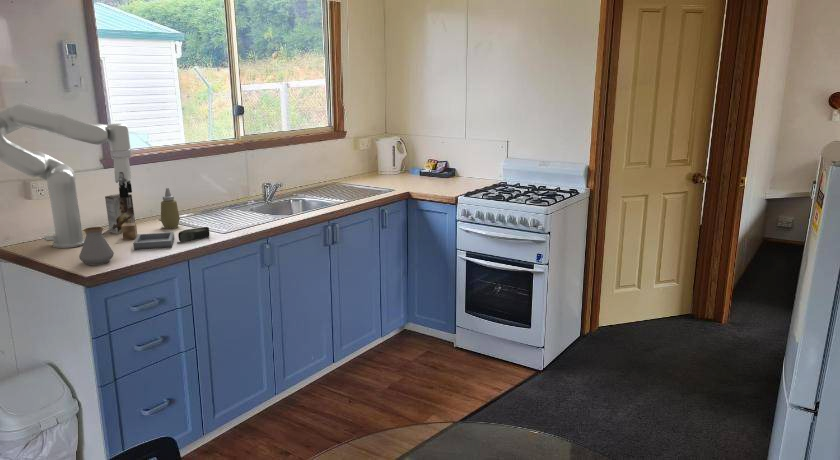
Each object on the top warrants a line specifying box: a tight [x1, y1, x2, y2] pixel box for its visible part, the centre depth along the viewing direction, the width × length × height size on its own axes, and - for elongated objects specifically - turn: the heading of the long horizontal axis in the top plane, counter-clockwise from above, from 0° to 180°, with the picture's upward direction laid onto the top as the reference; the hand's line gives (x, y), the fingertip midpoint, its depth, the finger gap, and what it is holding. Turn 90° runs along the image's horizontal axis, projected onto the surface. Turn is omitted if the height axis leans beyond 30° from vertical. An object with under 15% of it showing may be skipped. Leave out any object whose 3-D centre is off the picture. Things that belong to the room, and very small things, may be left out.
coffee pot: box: [79, 216, 134, 266], centre depth 233 cm, size 21×12×15 cm, turn 145°
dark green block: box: [176, 226, 211, 244], centre depth 260 cm, size 5×3×15 cm
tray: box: [132, 231, 175, 251], centre depth 253 cm, size 14×14×3 cm
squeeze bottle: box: [160, 187, 181, 229], centre depth 279 cm, size 8×8×18 cm
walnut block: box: [121, 222, 138, 241], centre depth 262 cm, size 5×5×6 cm
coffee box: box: [104, 193, 136, 235], centre depth 272 cm, size 9×6×16 cm
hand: (126, 195), depth 258 cm, fingers open, 9 cm apart
